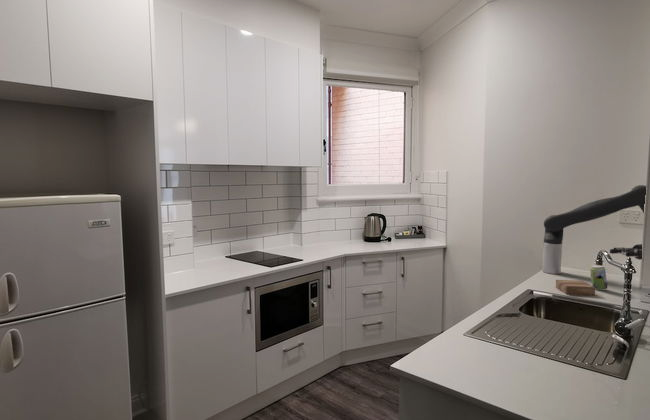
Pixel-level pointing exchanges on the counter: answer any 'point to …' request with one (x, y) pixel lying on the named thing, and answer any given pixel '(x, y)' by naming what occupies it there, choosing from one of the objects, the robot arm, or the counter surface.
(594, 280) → the beverage can
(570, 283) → the walnut base
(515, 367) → the counter surface
